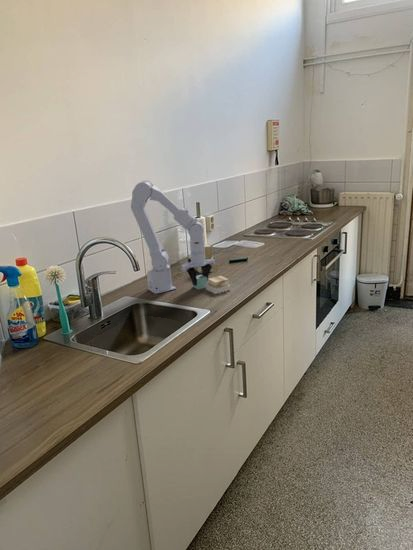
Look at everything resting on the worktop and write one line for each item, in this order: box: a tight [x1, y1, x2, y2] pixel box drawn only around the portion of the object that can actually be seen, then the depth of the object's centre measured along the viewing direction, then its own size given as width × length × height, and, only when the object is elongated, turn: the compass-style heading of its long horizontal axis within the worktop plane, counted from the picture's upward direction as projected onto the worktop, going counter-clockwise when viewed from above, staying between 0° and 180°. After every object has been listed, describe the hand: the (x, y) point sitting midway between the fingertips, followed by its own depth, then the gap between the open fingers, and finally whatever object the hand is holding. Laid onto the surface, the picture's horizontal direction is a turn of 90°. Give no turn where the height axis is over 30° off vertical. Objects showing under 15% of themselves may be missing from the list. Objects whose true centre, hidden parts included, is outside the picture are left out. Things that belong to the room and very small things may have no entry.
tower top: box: [207, 275, 230, 288], centre depth 166 cm, size 6×6×2 cm
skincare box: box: [197, 244, 213, 274], centre depth 191 cm, size 6×4×12 cm
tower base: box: [205, 283, 231, 295], centre depth 167 cm, size 7×7×2 cm
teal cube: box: [192, 274, 208, 290], centre depth 171 cm, size 4×4×4 cm
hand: (200, 283), depth 172 cm, fingers closed on teal cube, 4 cm apart
